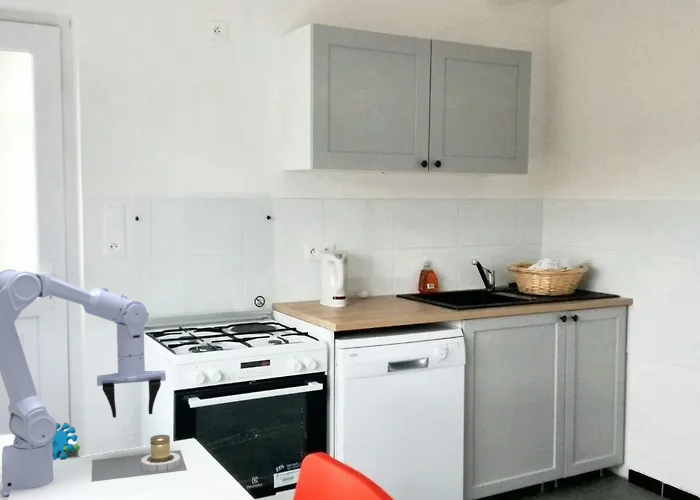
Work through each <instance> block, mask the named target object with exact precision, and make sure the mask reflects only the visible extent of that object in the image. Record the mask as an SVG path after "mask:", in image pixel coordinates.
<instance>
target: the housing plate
mask: <svg viewBox="0 0 700 500" xmlns="http://www.w3.org/2000/svg"><path fill="white" fill-rule="evenodd" d="M91 462H92V463H91V467H92V468H91V483H93V482H100V481H108V480H118V479H125V478H133V477H134V478H135V477H140V476H152V475H159V474H166V473H168V474H169V473H175V472H184V471H188V469H187V466H186V463H185V460H184V456H183V454H182V451H181V449H180V450H179V449H177V450H170V461H167V462H162V463H151V452H150V453H143V454H134V455H133V454H132V455H125V456H123V455H122V456H117V457H116V456H115V457H107V458H98V459H92V461H91Z"/></svg>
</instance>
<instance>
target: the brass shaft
mask: <svg viewBox="0 0 700 500" xmlns="http://www.w3.org/2000/svg"><path fill="white" fill-rule="evenodd" d="M170 440H171V436H170V435H167V434H156V435H153V436H151V437H150V440H149V441H150V453H151V463H162V462H167V461H170V451H171V441H170Z"/></svg>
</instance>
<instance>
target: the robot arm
mask: <svg viewBox="0 0 700 500" xmlns="http://www.w3.org/2000/svg"><path fill="white" fill-rule="evenodd" d="M109 290H110V289H109V288H108V287H104V286H100V288H99V287H94V288H92V289H90V290H87V289H84V288H81V287H79V286H76V285H74V284H71V283H68V282H66V281H63V280H61V279H58V278H56V277H53V276H50V275H45V274H40V273H38V274H37V273H33V272H31V271H27V270H25V271H19V270H15V269H3V270H2V271H0V375H1V379H2V382H3V384H4V387H5V391H6V393H7V397H8V400H9V403H8V407H7V409H8V412H9V420H8V428H9V430H10V433H11V434H12V435H14V438H13V439H14V440H13V444H11V445H5V446H3V448H2V451H1V483H2V496H4V497H6V496H10V494H11V491H13V490H21V489H24V490H25V489H36V488H40V487H44V486H48V485H49V484H51V483H52V482H53V481H54V464H53V463H54V460H53V456H54V455H53V451H52V438H53V437H54V435H55V433H56V428H57V426H56V423H57V422H56V420H55V419H54V417H53V416H52V415H50V414H49V412H48V410H47V407H46V405H45V404H44V403H43V401H42V399H41V398H40V396H39V394H38V392H37V389H36V386H35V384H34V380H33V377H32V375H31V374H32V373H31V370H30V367H29V364H28V362H27V358H26V356H25V352H24V349H23V345H22V343H21V340H20V337H19V333H18V330H17V327H16V325H15V321H16V320H17V319H18V318H19V316H20V314H21V313H22V312H23V310H25V309H26V308H27V307H28V306H30V305H31V304H32V303H34V302H35V300H36V299H37V298H47V297H49V296H52V297H56V298H58V299H62V300H65V301H68V302H72V303H76V304H77V305H78V304H79V305H82V307H83V310H84V312H85V313H87V314H88V315H92V316H95V317H98V318H101V319H104V320H107V321H110V322H113V323H114V324H116V340H117V341H116V344H117V348H116V349H117V372H113V373H107V374H99V375H96V387H99V386H100V387H102V391H103V393H104V395H105V397H106V399H107V401H108V404H109V406H110V409H111V414H112V418H113V419H114V418H117V409H116V408H117V407H116V400H115V399H116V396H115V393H116V392H115V385H117V384H120V385H121V384H131V383H143V382H145V383H146V382H148V415H153V410H154V404H155V402H156V399H157V395H158V393H159V391H160V388H161V386H162V382H166V370H146V369H145V368H146V367H145V365H146V364H145V324H146V323H147V321H149V316H150V315H149V314H150V313H149V312H148V310H147V308H146V306H145V305H144V304H143V303H142V302H140V301H137V300H130V299H128V296H127V295H125V294H121V295H118V294H116V293H112V292H111V291H109Z"/></svg>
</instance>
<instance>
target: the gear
mask: <svg viewBox="0 0 700 500" xmlns="http://www.w3.org/2000/svg"><path fill="white" fill-rule="evenodd" d="M56 426H57V428H56V433H55V435H54V437H53V438H52V451H53V461H56V460H57V459H58V456H59V458H60V459H61V460H64V459H65V458H68V454H70V455H79V454H80V453H79V450H80V449H81V447H80V445H79V444H78V443H76V441H78V440H77V439H78V438H79V436H78V435H77V434H75V433H76V428H75V427H74V426H71V427H70V424H68V422H64V423H63V424H62V425H61V423H59V422H56ZM69 434H72V435H69ZM70 440H72V442H75V443H74V444H73V443H69V441H70Z"/></svg>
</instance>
